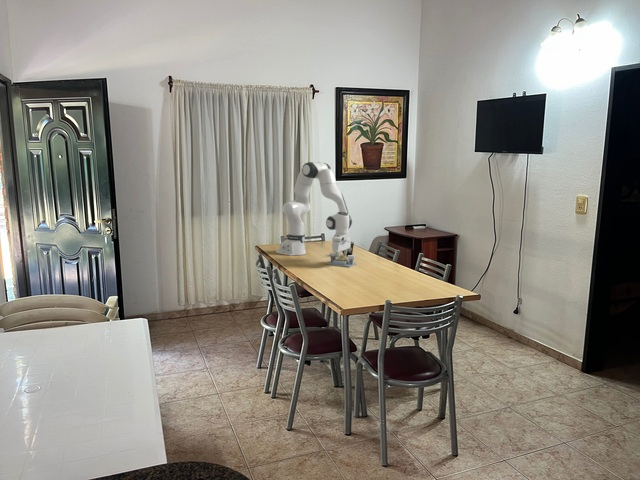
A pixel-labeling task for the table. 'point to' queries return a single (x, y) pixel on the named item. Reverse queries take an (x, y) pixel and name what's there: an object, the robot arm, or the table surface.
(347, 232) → the robot arm
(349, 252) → the coffee mug
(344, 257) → the coupler
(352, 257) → the shaft rig
